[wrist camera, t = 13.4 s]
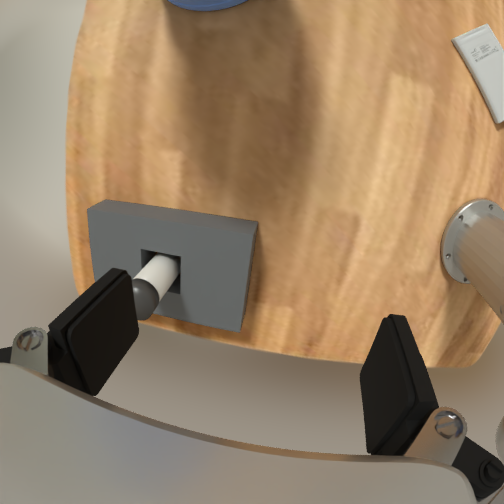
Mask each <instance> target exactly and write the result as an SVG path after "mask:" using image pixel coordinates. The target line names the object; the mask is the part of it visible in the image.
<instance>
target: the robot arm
mask: <svg viewBox="0 0 504 504" xmlns="http://www.w3.org/2000/svg"><path fill="white" fill-rule="evenodd" d="M441 257H442V262H443V265H444V267H445V269H446V271H447V272H448V273H449V275H450V276H451V277H452V278H453V279H455V280H456V281H458V282H461V283H465V284H472V285H473V286H474V287H475V289H476V290H477V291H478V292H479V293H480V295H481V296H482V297H483V298H484V299H485V301H486V302H487V303H488V304H489V306H490V307H491V308H492V310H493V311H494V312H495V313H496V315H497V316H498V317H499V319H500V320H501V321H502V323H503V324H504V211H503V210H502V208H501V207H500V206H499V205H497V204H496V203H494V202H493V201H491V200H487V199H474V200H471V201H469V202H467V203H465V204H464V205H462V206H461V207H460V208H459V209H458V210H457V211H456V212H455V213H454V214H453V216H452V217H451V219H450V220H449V222H448V224H447V226H446V228H445V231H444V234H443V237H442V242H441ZM48 327H49V329H50V331H49V332H48V333H46V331H45V330H43V329H42V328H38V327H30V328H27V329H24V330H22V331H21V332H19V333H18V334H17V335H16V337H15V338H14V341H13V345H12V347H7V348H2V349H0V504H504V417H503V418H502V420H501V422H500V424H499V426H498V429H497V432H496V448H497V452H498V455H499V458H500V460H501V461H500V460H499V459H498V458H496V457H495V456H494V455H492V454H491V453H489V452H488V451H486V450H485V449H483V448H482V447H481V446H479V445H477V444H476V443H475V442H473V441H472V440H470V439H469V438H467V437H466V433H467V423H466V421H465V419H464V417H463V416H462V415H461V414H460V413H459V412H458V411H457V410H455V409H453V408H449V407H440V408H439V406H438V402H437V399H436V396H435V393H434V390H433V387H432V384H431V381H430V378H429V375H428V372H427V369H426V366H425V363H424V361H423V358H422V356H421V354H420V352H419V350H418V347H417V344H416V342H415V339H414V337H413V334H412V331H411V329H410V326H409V324H408V321H407V319H406V317H405V316H403V315H394V314H390V315H389V316H388V317H387V318H383V320H382V322H381V325H380V327H379V330H378V332H377V335H376V337H375V340H374V342H373V344H372V347H371V349H370V351H369V354H368V356H367V358H366V361H365V363H364V365H363V367H362V370H361V373H360V385H361V393H362V402H363V411H364V422H365V434H366V447H367V452H368V453H371V455H347V454H331V453H317V452H305V451H295V450H288V449H280V448H273V447H266V446H260V445H254V444H248V443H243V442H237V441H233V440H228V439H223V438H219V437H215V436H210V435H206V434H202V433H198V432H195V431H190V430H187V429H184V428H180V427H177V426H173V425H170V424H166V423H163V422H160V421H157V420H154V419H151V418H148V417H145V416H142V415H139V414H136V413H134V412H131V411H128V410H125V409H123V408H120V407H118V406H115V405H112V404H110V403H108V402H105V401H103V400H100V399H98V398H96V397H93V396H96V395H97V394H98V393H99V391H100V390H101V389H102V387H103V386H104V384H105V383H106V381H107V380H108V378H109V377H110V375H111V374H112V373H113V371H114V370H115V368H116V367H117V365H118V364H119V363H120V361H121V360H122V358H123V357H124V356H125V354H126V353H127V351H128V350H129V348H130V347H131V346H132V344H133V343H134V342H135V340H136V338H137V337H138V334H139V327H138V321H137V315H136V308H135V301H134V293H133V286H132V278H131V276H130V275H128V272H127V271H126V270H123V269H118V268H111V269H110V270H109V271H108V272H107V273H105V274H104V275H103V276H102V277H101V278H100V279H99V280H97V281H96V282H95V283H94V284H93V285H92V286H91V287H89V288H88V289H87V290H86V291H85V292H84V293H83V294H82V295H80V296H79V297H78V298H77V299H76V300H75V301H74V302H73V303H72V304H71V305H70V306H69V307H67V308H66V309H65V310H64V311H63V312H62V313H61V314H60V315H59V316H58V317H57V318H56V319H55V320H54V321H52V323H50V324H49V325H48Z"/></svg>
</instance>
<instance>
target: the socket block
mask: <svg viewBox="0 0 504 504" xmlns="http://www.w3.org/2000/svg"><path fill="white" fill-rule="evenodd" d="M87 213H88V227H89V238H90V248H91V256H92V264H93V272H94V279H95V282H96V281H97V280H99V279H100V278H101V277H102V276H103V275H104V274H105V273H107V272H108V271H109V270H110V269H111V268H118V269H123V270H126V271H127V272H128V275H130V276H131V278H132V279H133V278H134V277H135V276H136V275H137V274H138V273H139V272H140V271H141V270H142V269H143V268H144V267H145V266H146V265H147V264H148V262H149V261H150V260H151V259H152V258H153V257H154V256H155V252H160V253H165V254H170V255H176V256H181V276H180V275H178V276H177V278H176V279H175V280H174V282H173V283H172V285H171V286H170V287H169V289H168V290H167V292H166V293H165V294H164V296H163V297H162V299H161V300H160V302H159V304H158V306H157V307H156V309H155V310H154V312H153V313H154V314H158V315H162V316H166V317H170V318H174V319H178V320H182V321H187V322H191V323H196V324H200V325H205V326H209V327H214V328H219V329H224V330H229V331H234V332H239V333H240V330H241V327H242V323H243V319H244V315H245V310H246V303H247V296H248V289H249V282H250V275H251V268H252V261H253V254H254V247H255V240H256V233H257V226H258V222H256V221H250V220H243V219H237V218H231V217H225V216H218V215H212V214H205V213H199V212H192V211H185V210H179V209H172V208H165V207H158V206H150V205H143V204H136V203H128V202H121V201H113V200H103V201H102V202H100V203H98V204H96V205H94V206H92V207H90V208H88V209H87Z"/></svg>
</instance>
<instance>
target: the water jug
mask: <svg viewBox="0 0 504 504" xmlns="http://www.w3.org/2000/svg"><path fill="white" fill-rule="evenodd" d="M168 1H169V2H170V3H172V4H174V5H176V6H178V7H181V8H184V9H188V10H194V11H213V10H220V9H225V8H229V7H233V6H236V5H238V4H241V3H243V2H245V1H247V0H168Z"/></svg>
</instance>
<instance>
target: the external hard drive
mask: <svg viewBox="0 0 504 504" xmlns="http://www.w3.org/2000/svg"><path fill="white" fill-rule="evenodd" d="M451 41H452V42H453V44H454V45H455V47H456V48H457V50H458V52H459V53H460V55H461V57H462V58H463V60H464V62H465V63H466V65H467V67H468V69H469V70H470V72H471V74H472V76H473V78H474V80H475V81H476V83H477V85H478V87H479V89H480V91H481V93H482V95H483V97H484V99H485V101H486V103H487V106H488V108H489V110H490V112H491V114H492V117H493V119H494V121H495V123H498V124H499V123H501V122H502V121H504V50H503V48H502V47H501V45H500V43H499V41H498V40H497V38H496V36H495V35H494V33H493V32H492V30H491V28H490V27H489V25H488V24H485V25H482V26H480V27H478V28H475V29H473V30H471V31H469V32H466V33H464V34H462V35H460V36H458V37H455V38H453V39H451Z"/></svg>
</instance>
